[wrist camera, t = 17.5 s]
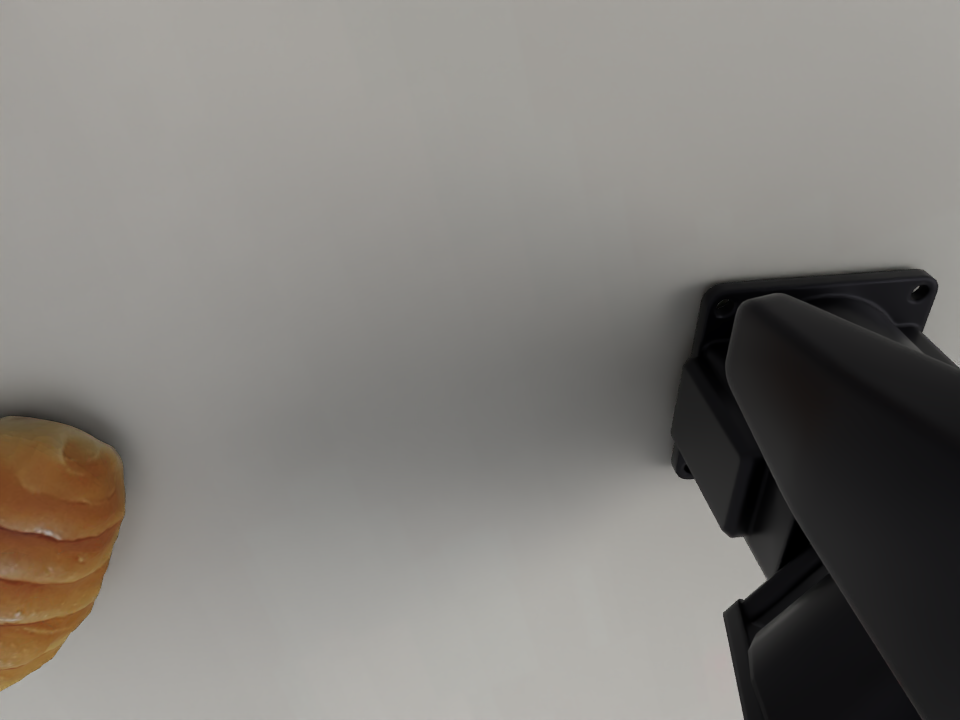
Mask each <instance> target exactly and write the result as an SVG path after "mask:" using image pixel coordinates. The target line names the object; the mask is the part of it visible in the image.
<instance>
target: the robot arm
mask: <svg viewBox="0 0 960 720" xmlns="http://www.w3.org/2000/svg"><path fill="white" fill-rule="evenodd" d="M918 286H919V288H918V289H917V290H916V291H915V292H913V290H914V289H915V288H916V287H918ZM937 290H938V283H937V280H935V279H934V278H933V277H932V276H931V275H929V274H928V273H927V272H926V271H924V270H920V269H913V270H899V271H885V272H871V273H857V274H843V275H828V276H814V277H800V278H786V279H772V280H758V281H744V282H729V283H721V284H717V285H714V286H713V287H711V288H709V289H708V290H707V292H706V293H705V294H704V296H703V298H702V301H701V306H700V311H699V316H698V321H697V327H696V332H695V337H694V343H693V348H692V353H691V357H690V358H689V359H688V360H687V361H686V363H685V364H684V365H683V368H682V374H681V379H680V384H679V390H678V395H677V401H676V406H675V412H674V417H673V422H672V428H671V436H672V438H673V439H674V441H675V443H674V448H673V453H672V459H671V462H672V466H673V468H674V470H675V472H676V473H677V475H678V476H679V477H680V478H683V479H695V481H696V483H697V484H698V486H699V488H700V490H701V492H702V494H703V496H704V498H705V499H706V501H707V503H708V505H709V507H710V509H711V511H712V513H713V515H714V516H715V518H716V520H717V522H718V524H719V526H720V528H721V530H722V531H723V532H725V533H726V534H727V535H728V536H729V537H730V538H735V537H744V539H745V541H746V542H747V544H748V546H749V548H750V550H751V551H752V553H753V555H754V557H755V559H756V560H757V562H758V564H759V566H760V568H761V569H762V571H763V573H764V575H765V577H766V578H767V581H766V582H765V583H763V584H762V585H761V586H760V587H759V588H758V589H756V590H755V591H754V592H753V593H752V594H751V595H749V596H748V597H747V598H746V599H745V600H743V599H739V600H737V601H736V602H735V603H734V604H733V605H732V606H730V607H729V608H728V609H727V610H726V611H725V612H723V617H724V622H725V627H726V632H727V637H728V642H729V647H730V652H731V657H732V662H733V667H734V672H735V677H736V681H737V686H738V691H739V696H740V701H741V706H742V711H743V716H744V720H960V368H959V367H958V366H957V365H955V364H954V363H953V362H952V361H951V360H950V359H949V358H948V357H947V356H946V355H945V354H944V353H943V352H942V351H941V350H940V349H939V348H938V347H936V346H935V345H934V344H933V343H932V342H931V341H930V340H929V339H928V338H927V337H926V336H925V335H924V334H923V333H922V332H923V329H924V326H925V323H926V321H927V318H928V315H929V313H930V310H931V307H932V305H933V302H934V299H935V296H936V294H937ZM912 292H913V293H912ZM725 299H729V300H728V302H727V303H726V304H725V305H724V306H723V307H720V308H716V307H717V305H718V303H720V302H721V301H722V300H725Z"/></svg>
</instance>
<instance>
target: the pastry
mask: <svg viewBox="0 0 960 720" xmlns="http://www.w3.org/2000/svg"><path fill="white" fill-rule="evenodd" d="M124 515H125V487H124V474H123V462H122V459H121V457H120V456H119V454H118V453H117V451H116V450H115V448H114V447H112V446H110V445H108V444H106V443H104V442H102V441H99V440H98V439H96V438H94V437H93V436H91V435H90V434H88V433H86V432H84V431H82V430H80V429H77V428H75V427H72V426H70V425H66V424H62V423H58V422H53V421H48V420H43V419H37V418H30V417H22V416H7V417H3V418H1V419H0V691H2V690H4V689H5V688H7V687H9V686H11V685H13V684H15V683H16V682H18V681H20V680H21V679H23V678H24V677H25V676H27V675H28V674H30V673H31V672H33V671H35V670H37V669H39V668H40V667H41V666H42V665H43V664H44V663H46V662H48V661H49V660H51V659H52V658H53V657H54V656H55V654H56V653H57V651H58V650H59V649H60V647H61V646H62V644H63V643H64V642H65V640H66V639H67V637H68V636H69V634H70V633H71V632H72V631H74V630H75V629H76V628H77V627H78V626H79V625H80V623H81V622H82V621H83V620H84V619H85V618H86V617H87V616H88V615H89V613H90V612H91V610H92V607H93V605H94V601H95V599H96V598H97V596H98V593H99V591H100V588H101V585H102V580H103V576H104V574H105V572H106V570H107V567H108V564H109V560H110V556H111V553H112V549H113V545H114V543H115V541H116V539H117V537H118V533H119V529H120V525H121V522H122V520H123V517H124Z"/></svg>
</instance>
